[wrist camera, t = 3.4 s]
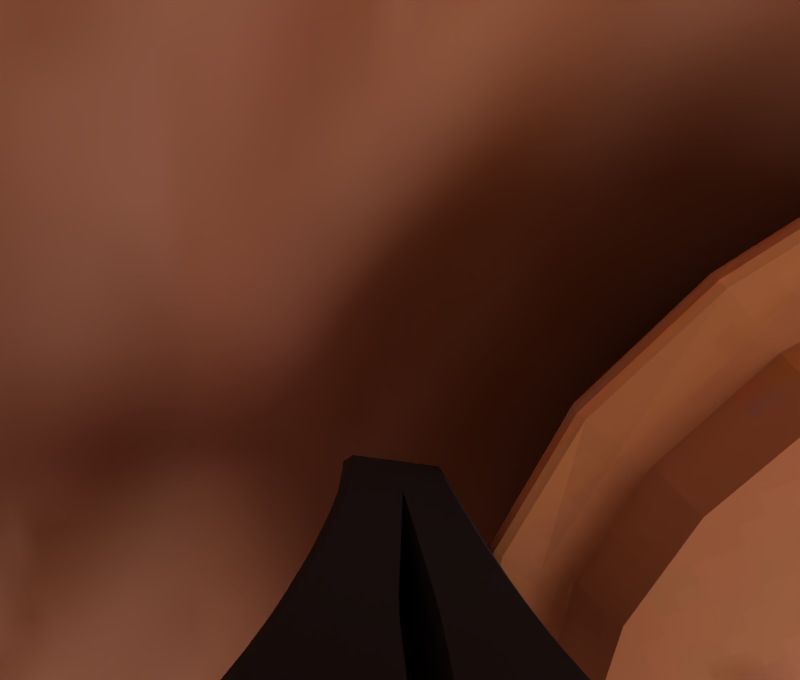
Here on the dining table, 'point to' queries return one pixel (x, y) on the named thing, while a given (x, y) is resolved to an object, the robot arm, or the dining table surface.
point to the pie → (678, 492)
